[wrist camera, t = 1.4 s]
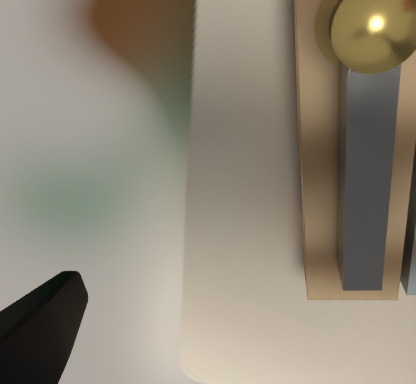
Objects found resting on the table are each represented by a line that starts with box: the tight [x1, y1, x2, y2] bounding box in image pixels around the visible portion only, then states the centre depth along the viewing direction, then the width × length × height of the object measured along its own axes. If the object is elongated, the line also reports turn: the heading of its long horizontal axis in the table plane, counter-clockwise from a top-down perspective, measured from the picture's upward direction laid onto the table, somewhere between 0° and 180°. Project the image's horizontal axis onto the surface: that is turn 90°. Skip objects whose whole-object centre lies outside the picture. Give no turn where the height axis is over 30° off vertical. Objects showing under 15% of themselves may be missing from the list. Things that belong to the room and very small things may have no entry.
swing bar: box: [329, 0, 416, 291], centre depth 16 cm, size 14×3×2 cm, turn 9°
